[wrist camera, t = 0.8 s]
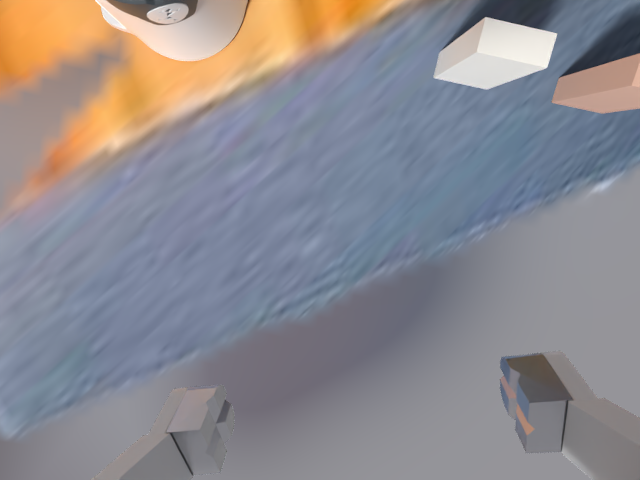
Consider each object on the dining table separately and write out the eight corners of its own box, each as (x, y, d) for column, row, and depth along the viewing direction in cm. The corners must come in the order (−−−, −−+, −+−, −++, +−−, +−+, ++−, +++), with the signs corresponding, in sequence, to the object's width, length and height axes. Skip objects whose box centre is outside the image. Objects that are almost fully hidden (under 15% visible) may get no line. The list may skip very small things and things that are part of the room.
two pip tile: (602, 113, 48) (697, 100, 37) (551, 102, 48) (631, 85, 36) (611, 87, 48) (710, 65, 36) (559, 75, 47) (644, 49, 35)
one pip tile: (486, 89, 47) (547, 67, 35) (433, 77, 46) (476, 52, 35) (494, 61, 46) (558, 30, 35) (440, 50, 46) (486, 13, 34)
